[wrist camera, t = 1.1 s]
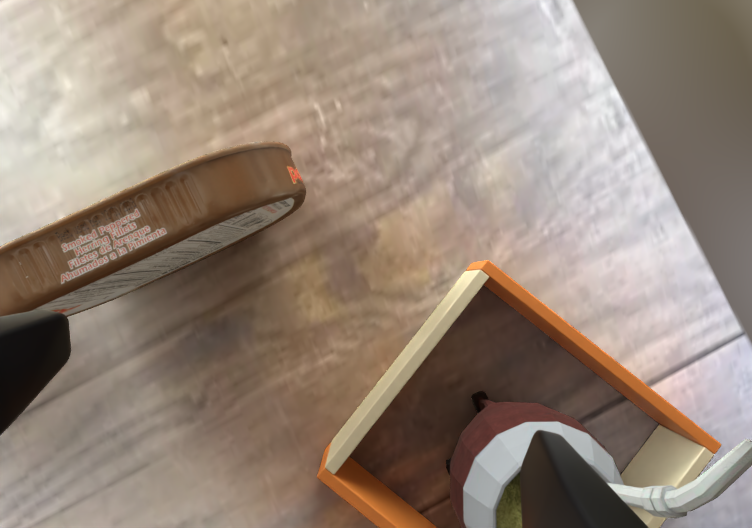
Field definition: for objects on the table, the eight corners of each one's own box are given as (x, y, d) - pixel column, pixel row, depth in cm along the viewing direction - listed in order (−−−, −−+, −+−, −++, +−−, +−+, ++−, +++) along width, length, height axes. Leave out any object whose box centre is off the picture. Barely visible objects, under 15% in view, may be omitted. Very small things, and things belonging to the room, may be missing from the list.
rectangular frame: (527, 614, 25) (553, 669, 21) (324, 450, 25) (316, 477, 21) (674, 421, 25) (723, 445, 21) (472, 262, 25) (487, 259, 22)
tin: (300, 163, 25) (264, 106, 17) (324, 214, 25) (299, 181, 17) (54, 277, 25) (-107, 276, 17) (77, 329, 25) (-73, 354, 17)
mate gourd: (466, 530, 25) (608, 915, 10) (409, 396, 25) (463, 570, 10) (590, 475, 25) (920, 771, 10) (532, 342, 25) (768, 435, 10)
